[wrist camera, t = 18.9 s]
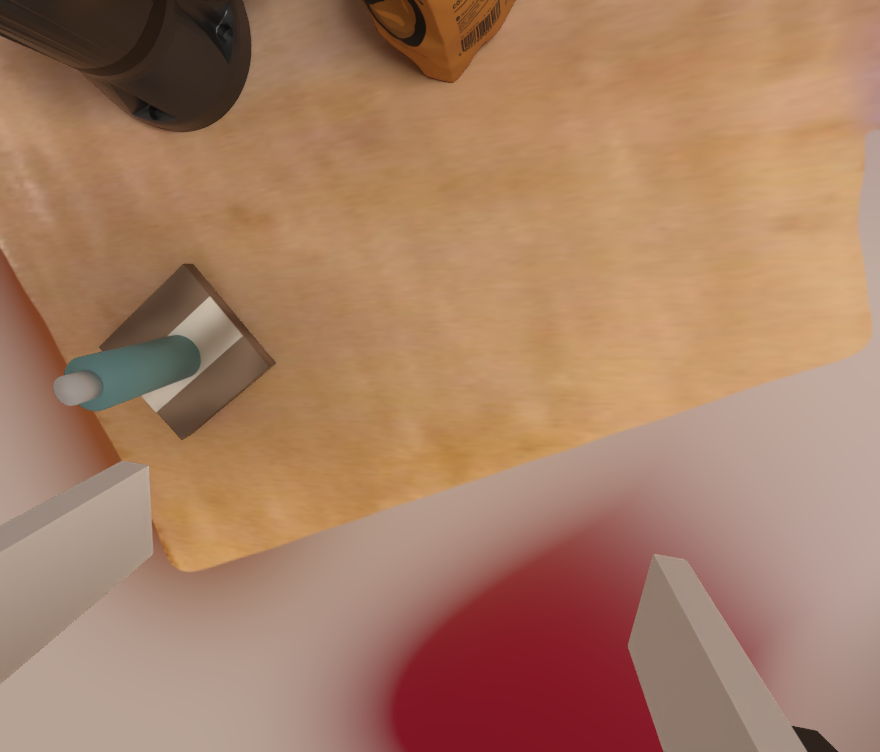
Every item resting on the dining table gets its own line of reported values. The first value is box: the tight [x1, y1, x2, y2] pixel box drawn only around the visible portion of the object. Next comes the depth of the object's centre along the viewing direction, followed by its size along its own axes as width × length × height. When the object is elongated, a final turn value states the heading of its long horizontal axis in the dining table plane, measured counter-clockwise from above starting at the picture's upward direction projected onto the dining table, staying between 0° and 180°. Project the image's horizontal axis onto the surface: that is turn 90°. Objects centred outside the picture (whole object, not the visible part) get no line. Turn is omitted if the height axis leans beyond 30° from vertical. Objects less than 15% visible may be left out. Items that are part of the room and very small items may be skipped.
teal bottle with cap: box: [53, 335, 201, 411], centre depth 41 cm, size 5×5×13 cm
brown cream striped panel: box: [99, 264, 276, 440], centre depth 48 cm, size 13×14×2 cm
